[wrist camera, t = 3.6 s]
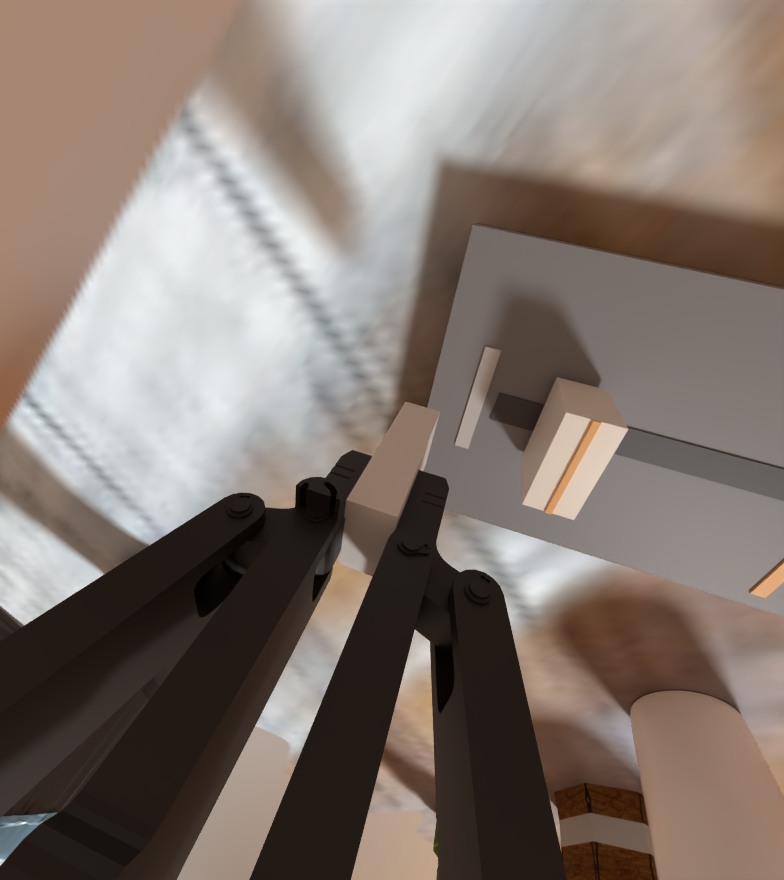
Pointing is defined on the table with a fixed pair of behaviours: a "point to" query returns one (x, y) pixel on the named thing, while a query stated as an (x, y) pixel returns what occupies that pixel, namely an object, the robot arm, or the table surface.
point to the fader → (570, 447)
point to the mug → (604, 834)
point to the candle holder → (706, 790)
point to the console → (622, 406)
